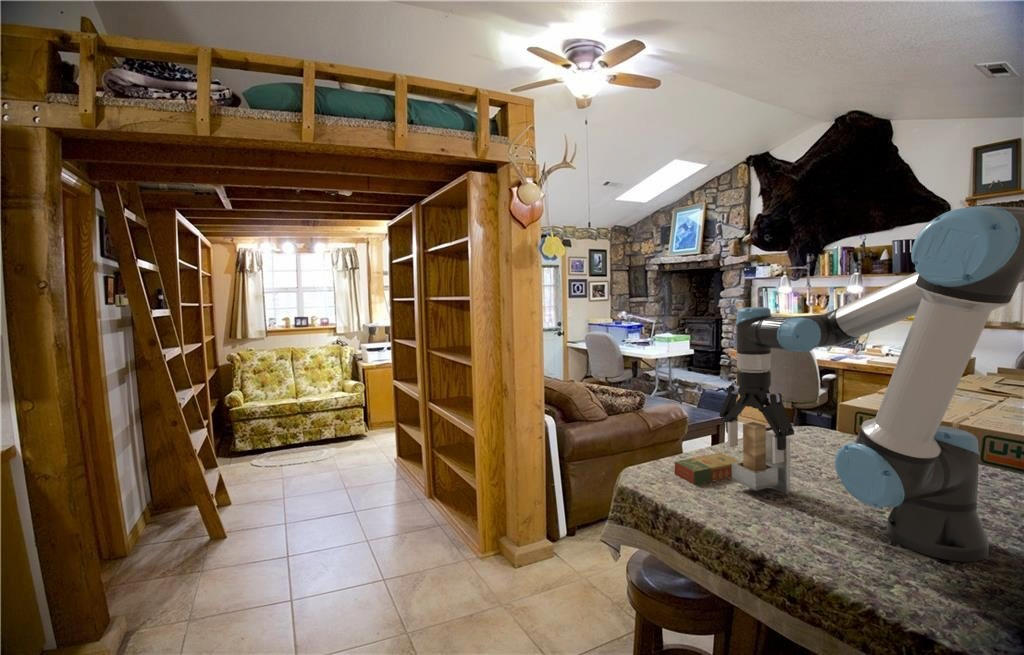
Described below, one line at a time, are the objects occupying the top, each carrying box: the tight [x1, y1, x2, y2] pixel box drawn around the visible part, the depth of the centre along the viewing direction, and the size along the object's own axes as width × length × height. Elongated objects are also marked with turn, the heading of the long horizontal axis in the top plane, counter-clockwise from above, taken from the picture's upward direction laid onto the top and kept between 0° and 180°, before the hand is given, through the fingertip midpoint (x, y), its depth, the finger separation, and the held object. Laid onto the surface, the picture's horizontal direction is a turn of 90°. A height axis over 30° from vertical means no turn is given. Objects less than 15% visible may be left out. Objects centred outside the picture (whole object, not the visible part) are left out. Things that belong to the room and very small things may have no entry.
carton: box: [673, 452, 741, 485], centre depth 134 cm, size 8×16×4 cm, turn 109°
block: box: [742, 421, 767, 472], centre depth 122 cm, size 4×4×14 cm
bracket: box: [731, 430, 791, 495], centre depth 123 cm, size 10×10×14 cm
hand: (754, 453), depth 122 cm, fingers open, 13 cm apart
